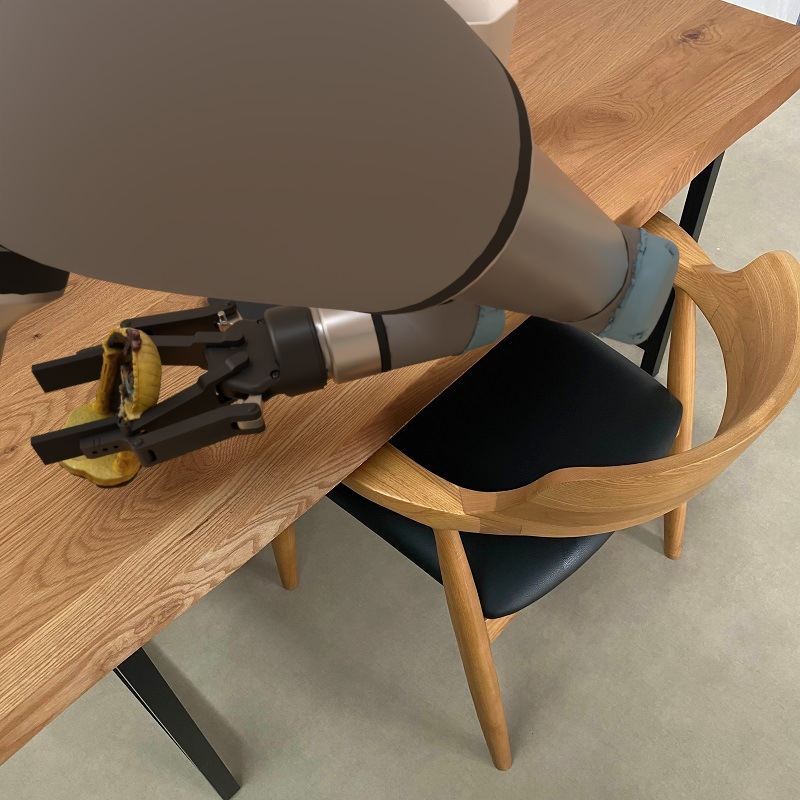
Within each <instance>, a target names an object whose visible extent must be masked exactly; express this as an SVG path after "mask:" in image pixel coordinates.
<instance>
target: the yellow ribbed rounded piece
mask: <svg viewBox="0 0 800 800" xmlns="http://www.w3.org/2000/svg"><path fill="white" fill-rule="evenodd" d="M100 342H101V344H102V348H103V349H104V350H105V351H104V353H103V358H104V360H103V366H102V371H101V377H100V380H99V382H98V384H99V385H98V387H97V388H96V391H95V392H96V393H95V399H94V402H93V401H92V402H86V403H84V404H82V405H80V406H78V407H76V408H74V409H73V410H72V411H71V412H70V413H69V416H67V417H68V418H67V419H66V420H65V423H64V424H62V427H61V428H60V429H64V428H68V427H72V426H76V425H80V424H84V423H88V422H92V421H96V420H100V419H103V418H107V417H111V416H115V415H118V416H119V417H121V416H122V417H123V418H124V420H125V421H127V420H129V421H131V420H134V419H139V418H140V415H141V413H142V412H144V411H146V410H148V409H149V408H151V407H153V406H155V405H157V404H158V403H159V399H160V393H161V387H162V376H163V366H162V364H161V360H160V356H159V353H158V350H157V347H156V346H155V344H154V343H153V341H152V340H151V339H150V337H149V336H148V335H147V334H145V333H144V332H142V331H141V330H137V329H133V328H120V327H116V328H113V329H112V330H110V331H109V332H108V333H107V336H106V337H105V338H104V339H100ZM144 431H145V430H142V431H141V432H144ZM58 465H59V466H60V467H61V468H62V469H64V470H65V471H66V472H68V473H69V474H71V476H74V477H79V478H81V479H84V480H87V481H88V482H90V483H92V484H94V485H95V486H96V487H97V488H99V489H103V490H111V489H119V488H123V487H127V486H128V485H130V484H131V483H133V482H134V480H135V479H136V478H137V476H138V475H139V472H140V470H141V469H142V468H144V467H143V466H142V465H141V463H140V462H139V460H138V458H137V457H136V455H135V454H134V453H133V452H132V451H122V452H119V453H115V454H111V455H106V456H103V457H100V458H96V459H87V458H86V457H85V455H83V456H80V457H76V458H72V459H68V460H64V461H60V462H58Z"/></svg>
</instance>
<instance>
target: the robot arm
mask: <svg viewBox="0 0 800 800" xmlns="http://www.w3.org/2000/svg"><path fill="white" fill-rule="evenodd" d="M680 258H681V257H680V250H679V248H678V246H677V244H676V243H675V242H674V241H672V240H671V239H668V238H665V237H663V236H660V235H657V234H654V233H651V232H648V231H647V229H646V228H644V227H641V226H638V227H632V226H629V225H626V224H623V223H620V222H617V221H614V220H613V219H612V218H611V217H610V216H609V215H608V214H607V213H606V212H605V211H604V210H603V209H602V208H601V207H600V206H599V205H597V203H596V202H595V201H594V200H593V199H592V198H591V197H590V196H589V195H588V194H586V192H584V190H583V189H582V188H581V187H580V186H579V185H578V184H577V183H576V182H575V181H574V180H573V179H571V178H570V176H568V175H567V173H565V172H564V171H563V170H562V168H560V166H558V164H557V163H555V162H554V161H553V160H552V159H551V158H550V157H549V156H548V154H547V153H545V151H543V149H541V148H540V147H539V146H538V145H537V144H536V143H535V140H534V132H533V128H532V121H531V117H530V115H529V111H528V108H527V104H526V101H525V99H524V97H523V94H522V92H521V91H520V89H519V86H518V84H517V82H516V81H515V79H514V77H512V75H511V73H510V72H509V71H508V70H507V69H506V68H505V66H504V65H503V64H502V63H501V61H500V60H499V59H498V58H497V56H496V55H495V54H494V53H493V52H492V51H491V49H490V48H489V47H488V46H487V45H486V44H485V43H484V41H483V40H482V39H481V38H480V37H479V36H478V35H477V34H476V33H475V32H474V30H473V29H472V28H471V27H470V26H469V25H468V24H467V23H466V22H465V21H464V19H463V18H462V17H461V16H460V15H459V14H458V13H457V12H456V11H455V10H454V9H453V8H452V7H451V6H450V5H449V4H448V3H447V2H446V1H444V0H0V366H1V364H2V359H3V356H4V351H5V346H6V341H7V337H8V332H9V331H10V330H11V328H12V327H13V326H14V325H15V324H17V322H18V321H19V320H21V319H23V318H26V317H27V316H28V315H31V314H32V313H34V312H36V311H39V310H40V309H42V308H43V307H45V306H47V305H49V304H51V303H53V302H55V301H57V300H58V299H60V298H62V297H64V294H65V292H66V290H67V286H68V283H69V278H70V274H71V273H72V274H75V275H77V276H81V277H85V278H88V279H93V280H98V281H102V282H107V283H111V284H115V285H121V286H125V287H130V288H135V289H141V290H149V291H155V292H161V293H168V294H175V295H182V296H191V297H200V298H217V299H224V300H222V301H220V302H217V303H215V304H212V305H208V306H206V305H205V306H200V307H194V308H188V309H181V310H177V311H176V310H175V311H170V312H163V313H157V314H151V315H144V316H138V317H131V318H126V319H123V320H122V321H120V323H119V328H133V329H137V330H141V331H142V332H144V333H145V334H147V335H148V336H149V337H150V339H151V340H152V341H153V343H154V344H155V346H156V347H157V350H158V353H159V356H160V360H161V364H162V367H163V366H165V367H166V366H167V367H169V366H170V367H198V368H200V369H201V370H204V371H206V372H203V373H202V374H201V375H199V376H198V377H197V381H196V382H195V383H193V384H191V385H189V386H188V387H186V388H184V389H183V390H180V391H179V392H176V393H174V394H173V395H172V396H170V397H168V398H165V399H164V400H162V401H159V402H157V405H155V406H153V407H151V408H149V409H148V410H146V411H144V412H142V413H141V415H140V418H139V419H134V420H131V421H129V420H127V421H125V420H124V418H123V417H122V416H121V417H119V416H118V415H115V416H111V417H107V418H103V419H100V420H96V421H92V422H88V423H84V424H80V425H76V426H72V427H68V428H64V429H61V428H59V429H57V430H53V431H49V432H45V433H40V434H38V435H33V436H30V446H31V448H32V449H33V451H34V452H35V454H36V455H37V456H38V458H39V459H40V461H41V462H42V463H43V465H44V466H49V465H53V464H57V463H59V462H60V461H64V460H68V459H72V458H76V457H80V456H83V455H85V457H86V458H87V459H96V458H100V457H103V456H106V455H111V454H115V453H119V452H122V451H132V452H133V453H134V454H135V455H136V457H137V458H138V460H139V462H140V463H141V465H142V466H143V467H142V468H146V469H149V468H151V467H154V466H158V465H160V464H162V463H165V462H168V461H171V460H173V459H176V458H180V457H182V456H185V455H187V454H190V453H193V452H196V451H198V450H201V449H204V448H206V447H209V446H212V445H215V444H218V443H220V442H223V441H226V440H229V439H231V438H234V437H238V436H248V435H250V436H251V435H259V434H262V433H264V432H265V431H266V429H267V425H266V421H265V418H264V405H265V403H267V402H269V401H270V400H271V399H272V398H274V397H276V396H279V395H285V397H288V398H294V397H297V396H302V395H305V394H309V393H314V392H317V391H321V390H324V389H325V387H326V386H327V387H328V381H330V380H332V381H333V382H334V384H335V385H343V384H346V383H350V382H353V381H357V380H361V379H365V378H368V377H374V376H377V375H381V374H384V373H388V372H391V371H394V370H398V369H402V368H407V367H410V366H415V365H419V364H424V363H427V362H432V361H436V360H440V359H445V358H448V357H459V356H462V355H464V354H466V353H467V352H470V351H472V350H475V349H479V348H482V347H485V346H488V345H491V344H494V343H496V342H497V341H499V339H500V338H501V337H502V335H503V333H504V331H505V327H506V311H508V312H513V313H517V314H523V315H526V316H532V317H537V318H541V319H547V320H549V321H552V322H556V323H560V324H564V325H567V326H570V327H574V328H576V329H579V330H581V331H584V332H587V333H590V334H592V335H594V336H596V337H598V338H600V339H604V338H606V339H609V340H613V341H616V342H619V343H621V344H626V345H630V346H631V345H633V346H635V345H636V346H637V345H640V344H641V343H643V342H645V341H646V340H647V339H648V338H649V337H650V335H651V334H652V332H653V331H654V329H655V327H656V325H657V324H658V321H659V320H660V317H661V316H662V314H663V311H664V309H665V306H666V304H667V303H668V299H669V297H670V294H671V291H672V288H673V286H674V283H675V279H676V276H677V273H678V270H679V266H680ZM235 300H236V301H245V302H254V303H265V304H276V305H282V306H278V307H274V308H270V309H267V310H266V311H265V312H264V317H263V318H262V319H259V320H248V319H242V317H241V316H240V314H239V312H238V309H237V306H236V302H235ZM104 351H105V350H104V349H103V348H102V343H101V344H97V345H94V346H89V347H84V348H82V349H80V350H78V351H76V352H75V354H72V355H67V356H64V357H60V358H56V359H52V360H47V361H43V362H40V363H35V364H31V367H30V368H31V371H30V372H31V374H32V375H33V377H34V378H35V380H36V381H37V383H38V384H39V386H40V388H41V389H42V391H43V392H44V394H47V393H52V392H55V391H60V390H63V389H68V388H71V387H75V386H80V385H84V384H88V383H93V382H96V381H100V377H101V371H102V366H103V360H104V358H103V353H104ZM142 430H145V431H144V432H141V431H142Z"/></svg>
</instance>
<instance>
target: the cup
mask: <svg viewBox="0 0 800 800" xmlns="http://www.w3.org/2000/svg"><path fill="white" fill-rule="evenodd" d="M444 1H446V2H447V3H448V4H449V5H450V6H451V7H452V8H453V9H454V10H455V11H456V12H457V13H458V14H459V15H460V16H461V17H462V18H463V19H464V21H465V22H466V23H467V24H468V25H469V26H470V27H471V28H472V29H473V30H474V32H475V33H476V34H477V35H478V36H479V37H480V38H481V39H482V40H483V41H484V43H485V44H486V45H487V46H488V47H489V48H490V49H491V51H492V52H493V53H494V54H495V55H496V56H497V58H498V59H499V60H500V61H501V63H502V64H503V65H504V66H505V68H506V69H507V71H508V70H509V63H510V58H511V52H512V45H513V39H514V33H515V27H516V21H517V15H518V10H519V0H444Z"/></svg>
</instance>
